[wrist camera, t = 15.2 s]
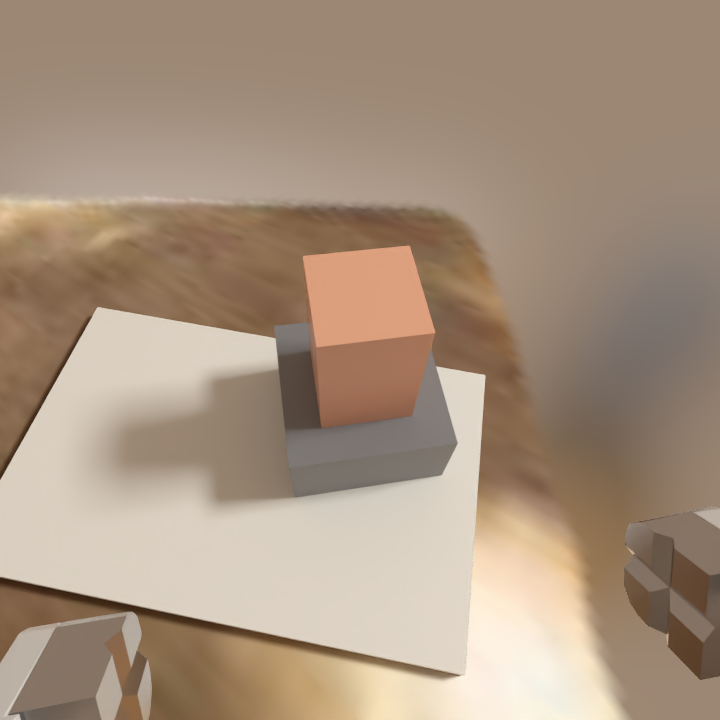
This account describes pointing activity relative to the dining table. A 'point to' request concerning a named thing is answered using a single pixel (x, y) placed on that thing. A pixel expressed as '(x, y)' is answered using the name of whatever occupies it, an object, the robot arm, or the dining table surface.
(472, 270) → the dining table surface
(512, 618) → the dining table surface
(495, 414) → the dining table surface
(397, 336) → the pillar block
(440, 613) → the baseplate
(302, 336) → the foundation block
